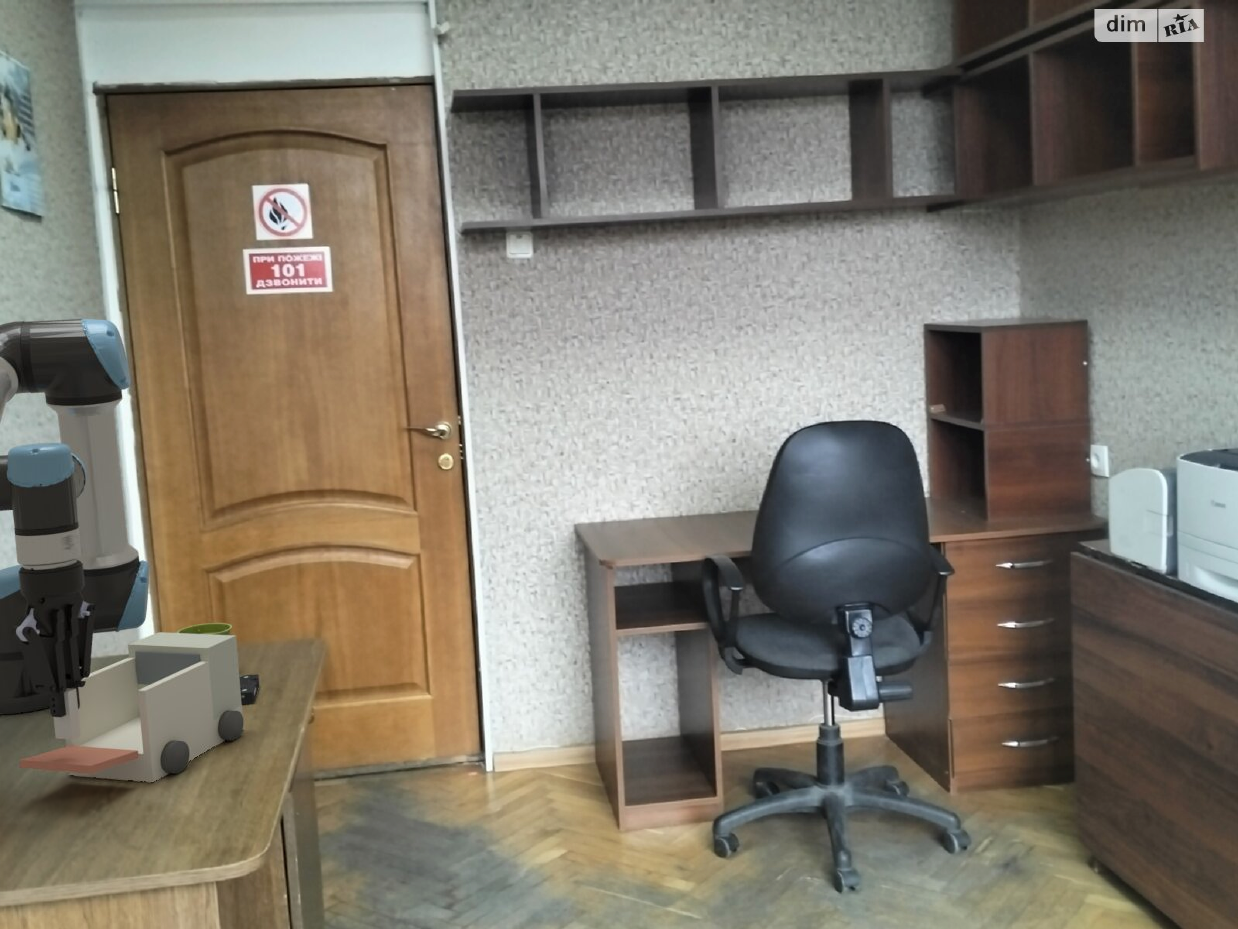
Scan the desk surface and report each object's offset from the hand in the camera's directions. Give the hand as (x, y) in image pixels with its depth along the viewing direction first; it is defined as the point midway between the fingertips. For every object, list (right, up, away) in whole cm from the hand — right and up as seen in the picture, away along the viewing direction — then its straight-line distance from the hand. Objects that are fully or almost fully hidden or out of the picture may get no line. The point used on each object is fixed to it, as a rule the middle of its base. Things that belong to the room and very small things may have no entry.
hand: (68, 737), depth 152 cm
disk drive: (+4, -4, +42) cm, 42 cm away
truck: (+5, -6, +17) cm, 19 cm away
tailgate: (+2, -3, +6) cm, 7 cm away
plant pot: (-1, -2, +55) cm, 55 cm away
